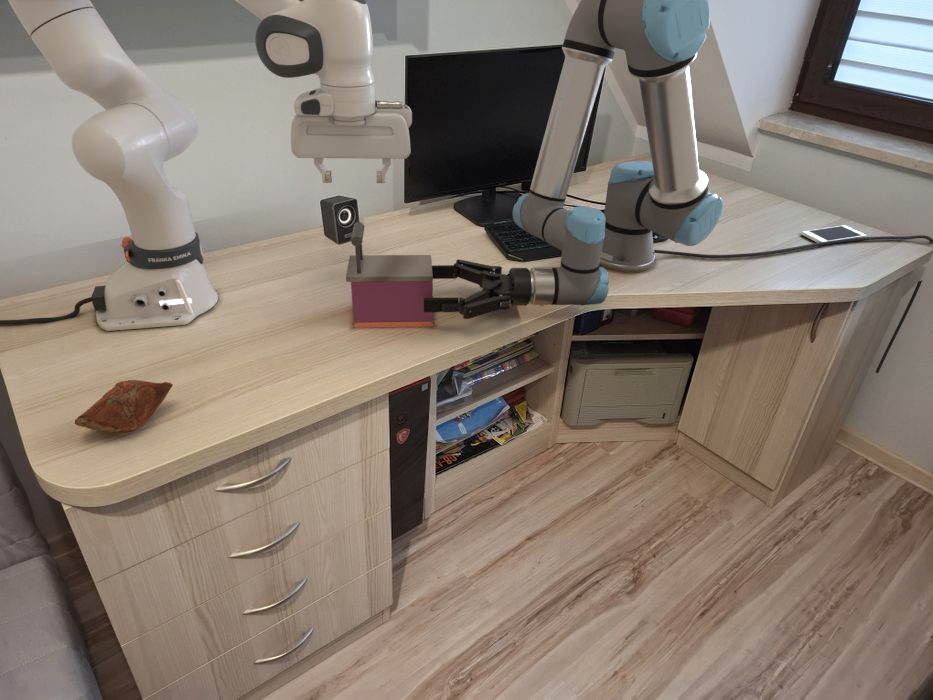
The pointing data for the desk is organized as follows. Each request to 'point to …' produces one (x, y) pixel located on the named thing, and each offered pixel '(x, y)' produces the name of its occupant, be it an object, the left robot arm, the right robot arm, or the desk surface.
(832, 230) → the smartphone
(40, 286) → the desk surface
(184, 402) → the desk surface
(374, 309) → the chest
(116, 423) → the fossil
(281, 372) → the desk surface
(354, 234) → the lid
